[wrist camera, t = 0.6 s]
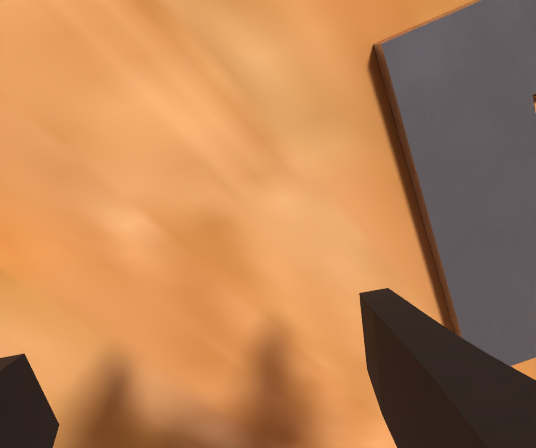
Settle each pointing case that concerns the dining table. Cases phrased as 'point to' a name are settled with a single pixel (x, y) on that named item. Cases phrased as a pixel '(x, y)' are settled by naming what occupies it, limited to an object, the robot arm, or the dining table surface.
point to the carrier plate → (474, 162)
